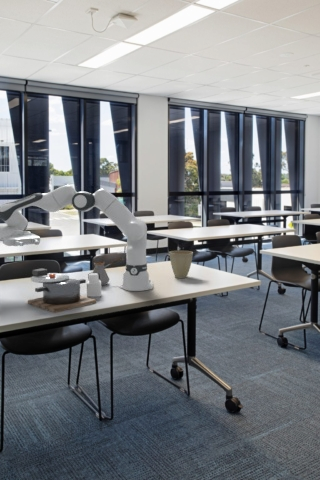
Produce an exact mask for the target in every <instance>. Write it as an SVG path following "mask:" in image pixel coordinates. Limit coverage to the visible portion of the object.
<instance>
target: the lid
mask: <svg viewBox="0 0 320 480" xmlns="http://www.w3.org/2000/svg"><path fill="white" fill-rule="evenodd" d="M48 270H49V269H47V268H37V269H32V270H31V274H32V276H30V281H31V282H33V283H40V284H43V283H55V282H61V281H65V280H68V279H70V275H69V274H67V273H62V272H61V273H60V272H59V273H58V272H48Z"/></svg>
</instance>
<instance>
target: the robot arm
mask: <svg viewBox="0 0 320 480" xmlns="http://www.w3.org/2000/svg"><path fill="white" fill-rule="evenodd" d="M70 205H72V206H73V208H74V209H75V210H76V211H78V212H83V213H85V212H89V211H92V210H93V209H94V208H97V209H98V210H100V211H101V212H102V213H103V214H104V215H105V216H106V217H107V218H108V219H109V220H111V221H112V222H113V224H114V225H115V226H116V227H117V228H118V229H119V230H120V231H121V233H122V234H123V235H124V236H125V237H126V239H127V240H126V249H125V252H126V254H125V256H126V264H125V271H124V272H123V274H122V275H123V276H122V285H120V287H119V288H120V289H124V290H125V291H129V292H143V291H149V290H153V289H154V283H153V281H151V279H150V274H149V272H148V264H147V237H148V236H147V234H148V233H147V232H148V227H147V223H146V222H145V221H144V220H142V219H141V218H137V217H136V216H135V215H134V213H132V212H131V211H130V209H129V208H128V207H127V206H125V204H124V203H123V202H122V201H121V200H119V199H118V198H117V197H116V196H115V195H114V194H113V193H111V192H110V191H108V190H106V189H105V188H100V189H97V190H96V191H95V192H94V193H91V192H88V191H76V189H75V188H74V187H73V186H72V185H70V184H66V185H62V186H59V187H58V188H57V187H56V188H55V189H54V190H51V191H49V192H44V193H41V192H36V193H33V194H29V195H27V196H25V197H22V198H19V199H17V200H14V201H10V202H7V203H3V204H2V205H0V220H2V221H3V222H4V223H3V224H0V242H2V244H3V245H5V246H6V247H7V246H8V247H12V246H13V247H18V246H19V247H23V246H25V245H26V246H27V245H35V246H36V245H37V246H38V245H39V244H40V243H41V237H40V236H39V235H37V234H34V233H31V231H28V230H27V228H28V226H29V221H28V219H27V218H26V217H25V216H24V215H23V214H22V213H21V210H23V209H26V208H28V207H32V206H33V207H38V208H41V209H42V210H44V211H46V212H48V213H49V212H50V213H56V212H59V211H60V210H62V209H64V208H65V207H68V206H70Z"/></svg>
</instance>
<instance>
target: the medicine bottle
mask: <svg viewBox="0 0 320 480" xmlns="http://www.w3.org/2000/svg"><path fill="white" fill-rule="evenodd" d="M87 275H88V276H87V278H88V279H87V280H88V281H86V297H88V298H91V297H94V298H95V297H101V296H102V286H101V281H100V274H99V273H96V272H93V271H92V272H89V273H88V274H87Z"/></svg>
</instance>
